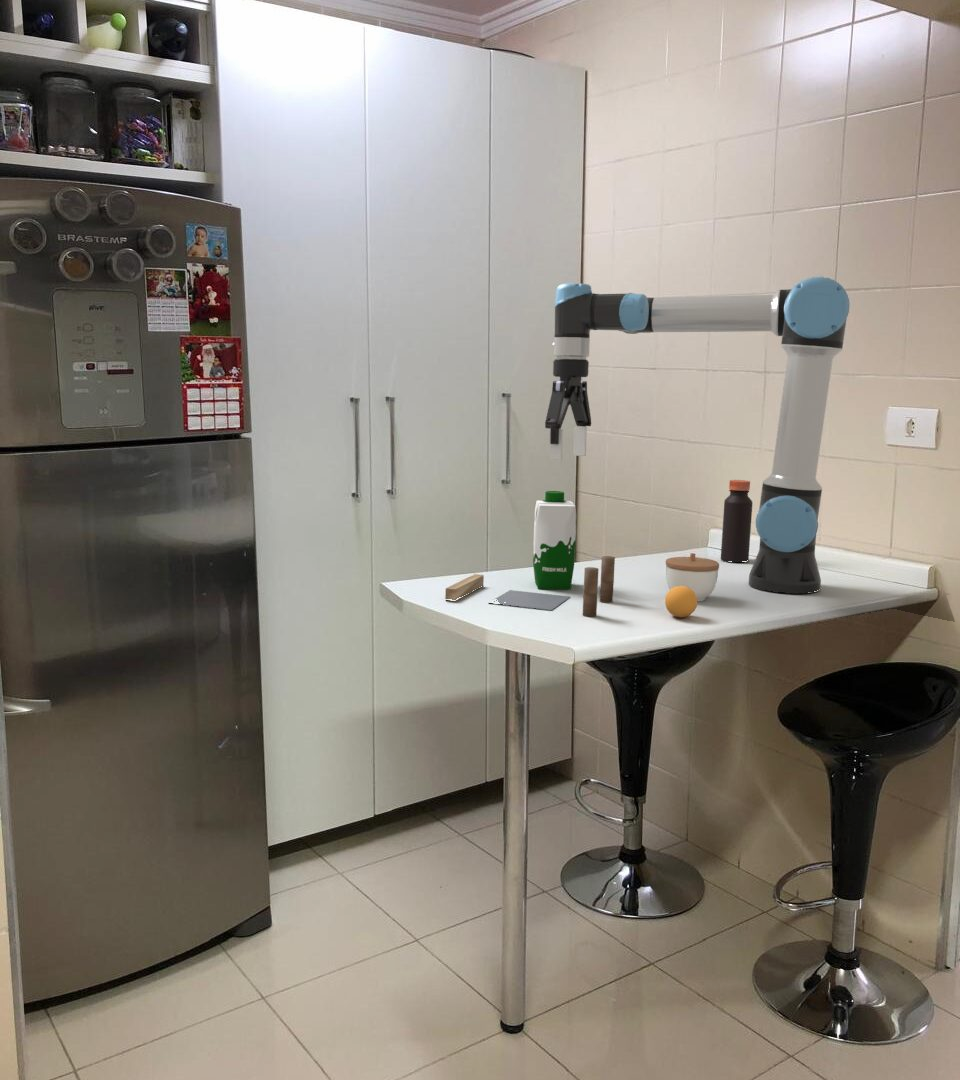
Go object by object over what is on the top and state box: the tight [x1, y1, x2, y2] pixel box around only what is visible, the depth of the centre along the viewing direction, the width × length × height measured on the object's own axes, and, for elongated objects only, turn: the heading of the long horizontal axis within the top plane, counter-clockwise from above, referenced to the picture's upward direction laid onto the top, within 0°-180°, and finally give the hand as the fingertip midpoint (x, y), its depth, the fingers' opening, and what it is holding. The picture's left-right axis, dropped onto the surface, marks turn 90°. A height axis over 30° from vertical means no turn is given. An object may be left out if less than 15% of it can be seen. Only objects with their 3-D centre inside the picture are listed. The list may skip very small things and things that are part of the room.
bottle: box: [720, 479, 753, 562], centre depth 251 cm, size 7×7×20 cm
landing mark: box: [494, 589, 571, 611], centre depth 204 cm, size 13×13×1 cm
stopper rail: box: [444, 573, 485, 600], centre depth 208 cm, size 2×16×2 cm, turn 159°
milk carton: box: [532, 490, 577, 590], centre depth 216 cm, size 9×9×20 cm
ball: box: [664, 586, 698, 618], centre depth 193 cm, size 6×6×6 cm
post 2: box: [599, 555, 616, 604], centre depth 204 cm, size 3×3×9 cm
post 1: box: [582, 566, 600, 618], centre depth 192 cm, size 3×3×9 cm
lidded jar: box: [665, 552, 720, 602], centre depth 209 cm, size 11×11×9 cm
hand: (567, 457), depth 221 cm, fingers open, 13 cm apart
